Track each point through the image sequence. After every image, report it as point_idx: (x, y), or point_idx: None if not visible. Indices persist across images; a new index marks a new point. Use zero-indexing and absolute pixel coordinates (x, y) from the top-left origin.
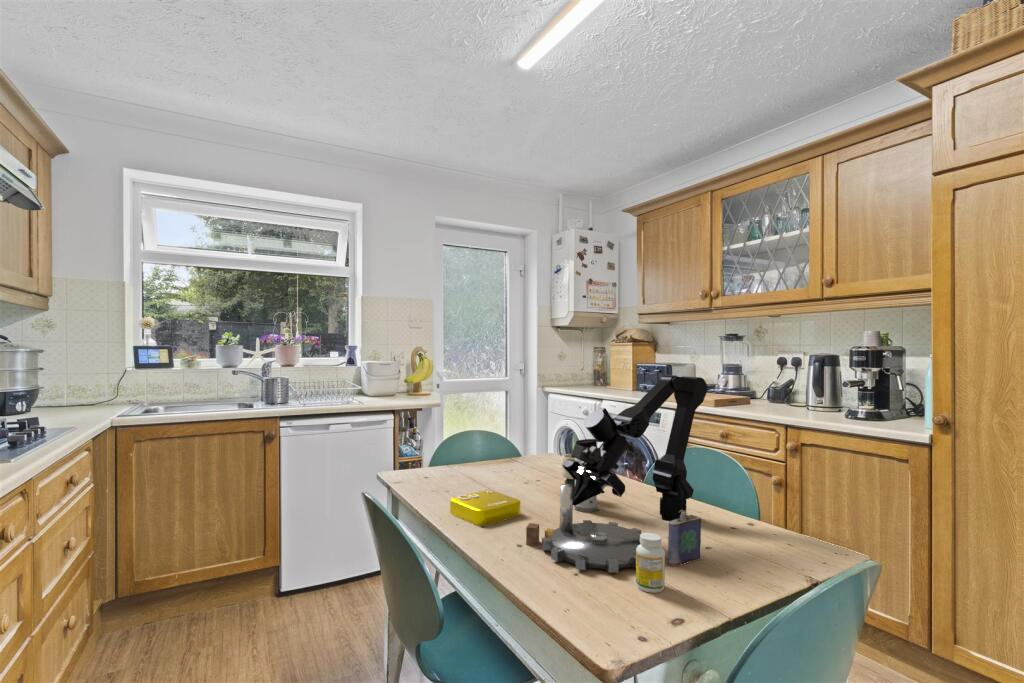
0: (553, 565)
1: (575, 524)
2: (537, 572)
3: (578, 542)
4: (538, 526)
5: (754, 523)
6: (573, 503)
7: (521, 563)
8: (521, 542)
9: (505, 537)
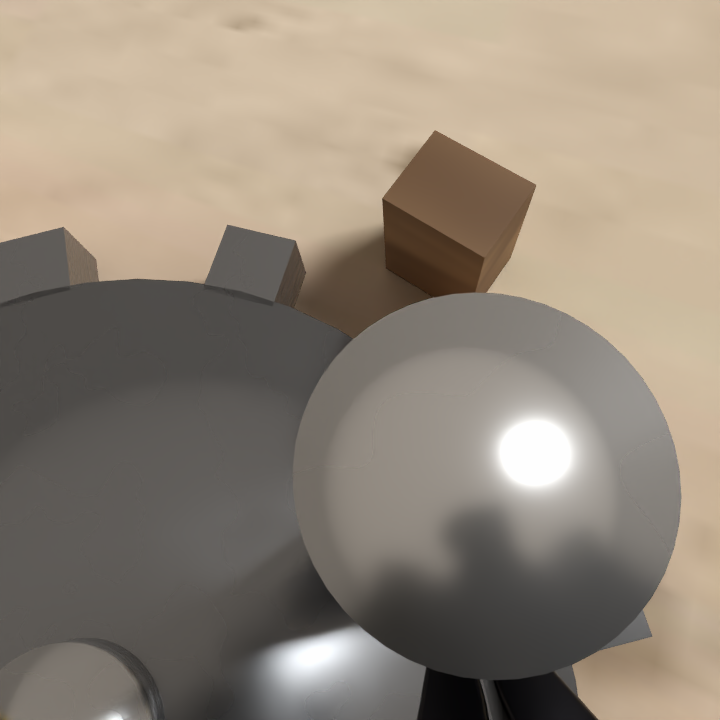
0: None
1: None
2: (7, 144)
3: (84, 488)
4: (452, 244)
5: None
6: None
7: (154, 101)
8: None
9: (602, 123)
